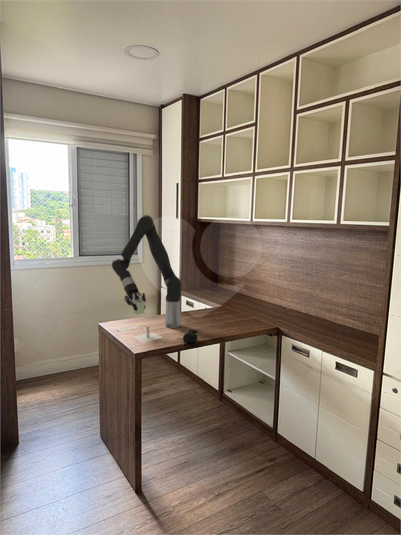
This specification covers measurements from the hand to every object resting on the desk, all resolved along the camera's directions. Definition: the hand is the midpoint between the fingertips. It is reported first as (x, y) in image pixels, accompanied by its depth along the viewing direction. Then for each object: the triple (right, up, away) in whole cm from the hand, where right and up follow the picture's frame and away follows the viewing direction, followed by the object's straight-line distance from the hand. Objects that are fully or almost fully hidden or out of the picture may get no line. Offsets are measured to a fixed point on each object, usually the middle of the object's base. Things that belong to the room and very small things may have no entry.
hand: (140, 309), depth 215 cm
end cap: (+30, -18, -6) cm, 36 cm away
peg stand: (+5, -17, -4) cm, 18 cm away
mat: (-7, -15, +10) cm, 19 cm away
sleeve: (-1, -2, +2) cm, 3 cm away
